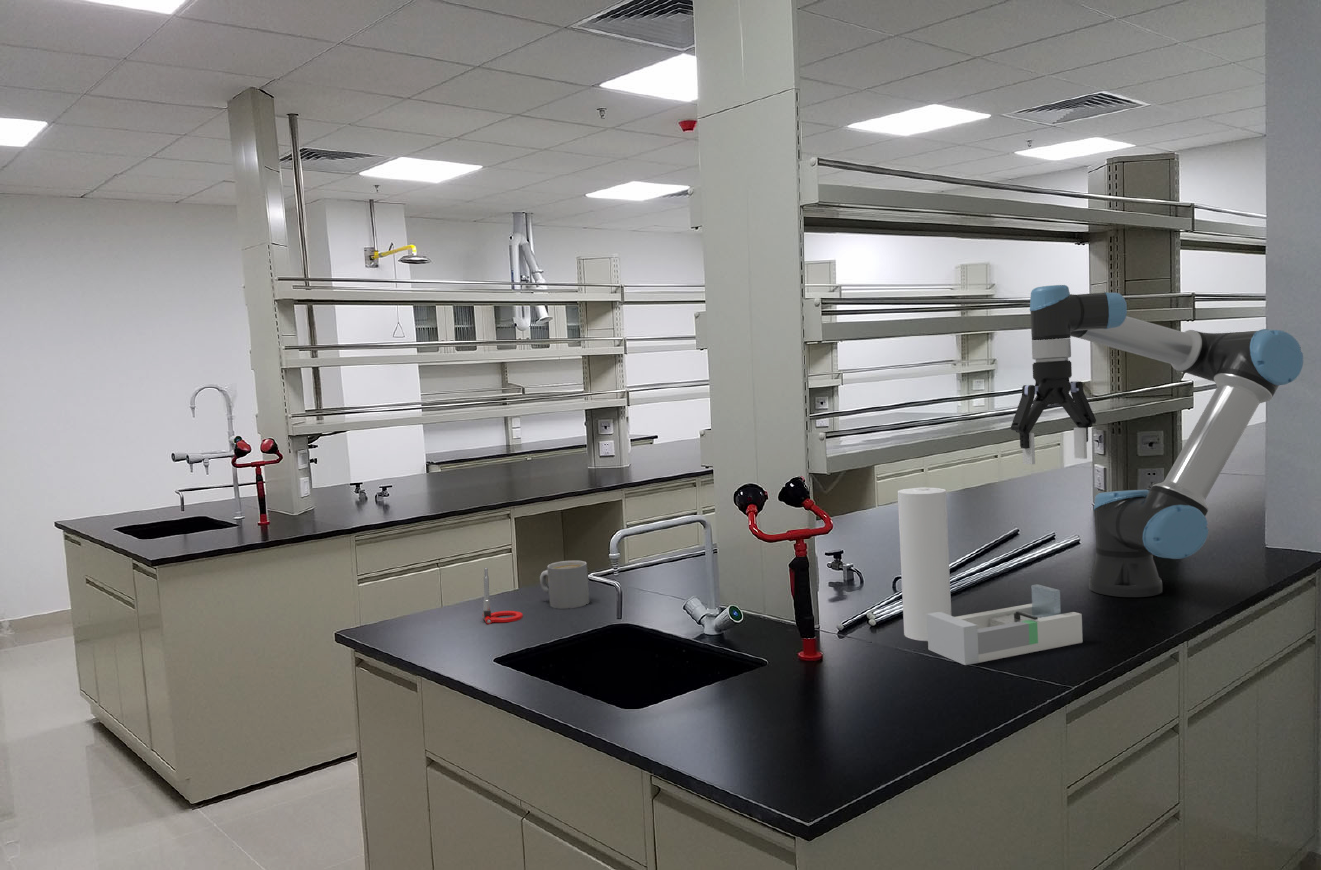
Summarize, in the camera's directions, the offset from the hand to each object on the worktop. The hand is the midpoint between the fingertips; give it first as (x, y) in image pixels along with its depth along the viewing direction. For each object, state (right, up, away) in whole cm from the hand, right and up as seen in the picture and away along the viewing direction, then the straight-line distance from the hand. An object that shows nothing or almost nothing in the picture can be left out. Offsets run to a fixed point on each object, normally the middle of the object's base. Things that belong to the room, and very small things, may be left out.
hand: (1055, 461), depth 195 cm
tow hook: (-121, -39, +28) cm, 130 cm away
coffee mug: (-108, -37, +40) cm, 121 cm away
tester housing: (-17, -35, -17) cm, 43 cm away
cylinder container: (-29, -35, -7) cm, 46 cm away
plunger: (-14, -33, -17) cm, 40 cm away
